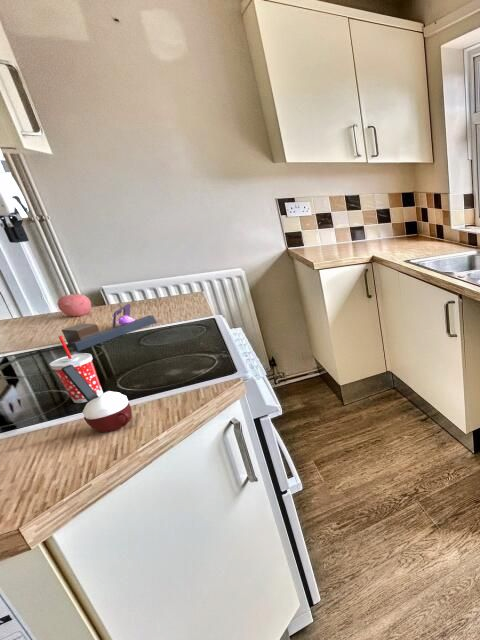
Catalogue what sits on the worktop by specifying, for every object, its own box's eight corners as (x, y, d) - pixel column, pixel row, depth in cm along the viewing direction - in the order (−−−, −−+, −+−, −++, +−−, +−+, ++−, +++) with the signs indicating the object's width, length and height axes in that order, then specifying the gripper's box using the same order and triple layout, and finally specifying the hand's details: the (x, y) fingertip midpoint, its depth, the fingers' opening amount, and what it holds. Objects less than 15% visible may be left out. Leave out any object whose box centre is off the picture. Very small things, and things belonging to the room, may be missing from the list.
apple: (101, 312, 141) (91, 289, 138) (76, 320, 135) (66, 296, 131) (83, 311, 142) (73, 288, 139) (58, 319, 136) (47, 295, 133)
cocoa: (142, 426, 78) (118, 368, 73) (97, 443, 73) (68, 382, 69) (128, 410, 83) (104, 355, 79) (85, 425, 79) (57, 367, 74)
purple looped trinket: (125, 302, 128) (110, 311, 120) (147, 306, 130) (133, 315, 122) (124, 323, 130) (109, 333, 122) (145, 326, 132) (132, 336, 124)
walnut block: (69, 346, 114) (61, 329, 112) (88, 339, 119) (81, 323, 117) (84, 347, 113) (76, 330, 111) (103, 340, 118) (96, 324, 116)
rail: (73, 351, 111) (69, 342, 110) (152, 322, 131) (149, 315, 130) (78, 351, 111) (74, 343, 110) (156, 323, 131) (153, 315, 130)
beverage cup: (77, 394, 90) (48, 333, 84) (113, 388, 92) (87, 328, 86) (62, 408, 84) (30, 344, 79) (100, 402, 86) (71, 339, 81)
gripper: (-57, 168, 104) (-21, 243, 111) (-9, 168, 102) (25, 244, 109) (-17, 168, 111) (14, 239, 118) (28, 168, 109) (58, 240, 116)
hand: (19, 241), depth 114 cm, fingers closed
